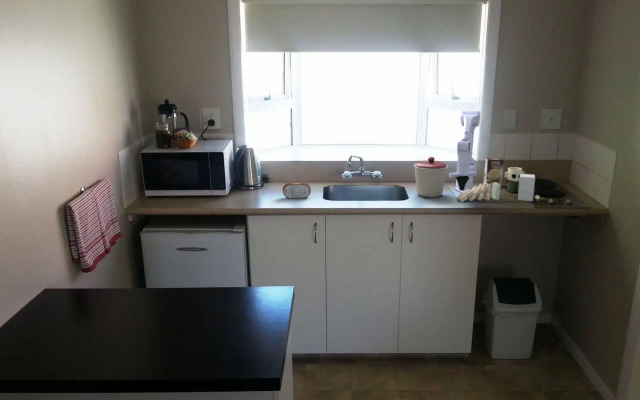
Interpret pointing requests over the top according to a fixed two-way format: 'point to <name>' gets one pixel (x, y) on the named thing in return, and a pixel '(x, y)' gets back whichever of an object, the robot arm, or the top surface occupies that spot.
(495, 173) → the coffee box
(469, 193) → the domino
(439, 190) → the canister
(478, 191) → the domino
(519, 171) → the character mug
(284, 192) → the tin
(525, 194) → the supplement box
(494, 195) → the end domino
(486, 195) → the domino
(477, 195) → the domino
